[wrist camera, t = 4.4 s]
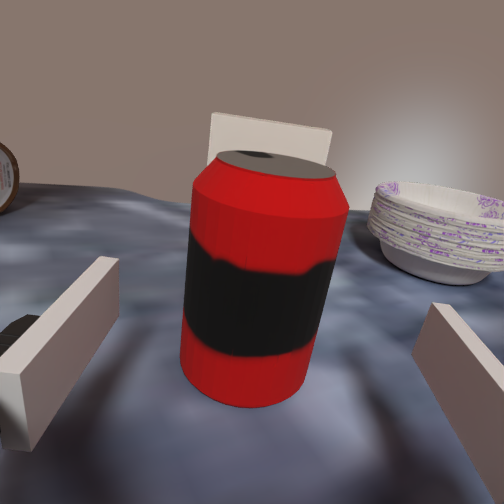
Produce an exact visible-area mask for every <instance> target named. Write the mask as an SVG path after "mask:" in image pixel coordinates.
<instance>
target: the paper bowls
mask: <svg viewBox="0 0 504 504" xmlns="http://www.w3.org/2000/svg"><path fill="white" fill-rule="evenodd" d="M367 227H368V230H370V232H371V233H372V234H373V235H374V236H376V237H377V238H379V239H380V245H381V249H382V252H383V254H384V256H385V257H386V258H387V259H388V260H389V261H390V262H391V263H393V264H394V265H395V266H397V267H399V268H400V269H402V270H404V271H406V272H408V273H410V274H413V275H415V276H418V277H421V278H424V279H427V280H430V281H434V282H439V283H444V284H451V285H469V284H474V283H477V282H479V281H481V280H482V279H484V278H485V277H486V276H487V275H488V274H490V273H491V272H499V271H504V201H501V200H497V199H494V198H491V197H487V196H483V195H479V194H476V193H472V192H467V191H463V190H458V189H453V188H448V187H442V186H436V185H430V184H422V183H413V182H384V183H381V184H379V185H378V186H377V187H376V193H374V198H373V202H372V206H371V210H370V213H369V217H368V223H367Z"/></svg>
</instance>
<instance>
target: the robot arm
mask: <svg viewBox="0 0 504 504" xmlns="http://www.w3.org/2000/svg"><path fill="white" fill-rule="evenodd" d="M118 316H119V259H116V258H109V257H102V256H100V257H99V258H98V259H97V260H96V261H95V262H94V263H93V264H92V265H91V266H90V267H89V268H88V269H87V270H86V271H85V272H84V273H83V274H82V275H81V276H80V277H79V278H78V279H77V280H76V281H75V282H74V283H73V284H72V285H71V286H70V287H69V288H68V289H67V290H66V291H65V292H64V293H63V294H62V295H61V296H60V297H59V298H58V299H57V300H56V301H55V302H54V303H53V304H52V305H51V306H50V307H49V308H48V309H47V310H46V311H45V312H44V313H43V314H42V315H41V316H36V315H28V314H27V315H25V316H24V317H22V318H20V319H18V320H16V321H14V322H12V323H11V324H9V325H8V326H7V327H6V328H5V329H4V330H3V331H2V332H1V333H0V437H1V442H2V448H3V449H7V450H16V451H24V452H32V450H33V449H34V447H35V446H36V444H37V443H38V441H39V440H40V438H41V436H42V435H43V433H44V432H45V430H46V429H47V427H48V426H49V424H50V422H51V421H52V419H53V418H54V416H55V415H56V413H57V411H58V410H59V408H60V407H61V405H62V404H63V402H64V401H65V399H66V397H67V396H68V394H69V393H70V391H71V390H72V388H73V387H74V385H75V383H76V382H77V380H78V379H79V377H80V376H81V374H82V372H83V371H84V369H85V368H86V366H87V365H88V363H89V362H90V360H91V358H92V357H93V355H94V354H95V352H96V351H97V349H98V348H99V346H100V344H101V343H102V341H103V340H104V338H105V337H106V335H107V334H108V332H109V330H110V329H111V327H112V326H113V324H114V323H115V321H116V319H117V318H118ZM411 355H412V357H413V358H414V360H415V362H416V364H417V365H418V367H419V369H420V371H421V373H422V374H423V376H424V378H425V380H426V381H427V383H428V385H429V387H430V388H431V390H432V392H433V394H434V396H435V397H436V399H437V401H438V403H439V404H440V406H441V408H442V410H443V411H444V413H445V415H446V417H447V419H448V420H449V422H450V424H451V426H452V427H453V429H454V431H455V433H456V434H457V436H458V438H459V440H460V442H461V443H462V445H463V447H464V449H465V450H466V452H467V454H468V456H469V457H470V459H471V461H472V463H473V465H474V466H475V468H476V470H477V472H478V473H479V475H480V477H481V479H482V481H483V482H484V484H485V486H486V488H487V489H488V491H489V493H490V495H491V496H492V498H493V500H494V502H495V504H504V366H503V365H502V364H501V363H500V362H499V360H498V359H497V358H496V357H495V356H494V355H493V354H492V352H491V351H490V350H489V349H488V348H487V347H486V346H485V344H484V343H483V342H482V341H481V340H480V339H479V338H478V336H477V335H476V334H475V333H474V332H473V331H472V330H471V328H470V327H469V326H468V325H467V324H466V323H465V322H464V320H463V319H462V318H461V317H460V316H459V315H458V314H457V312H456V311H455V310H454V309H453V308H452V307H451V306H450V305H447V304H440V303H433V302H432V304H431V306H430V309H429V311H428V314H427V316H426V319H425V321H424V324H423V326H422V329H421V331H420V334H419V336H418V339H417V341H416V344H415V346H414V349H413V351H412V354H411Z"/></svg>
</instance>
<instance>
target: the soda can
mask: <svg viewBox="0 0 504 504" xmlns="http://www.w3.org/2000/svg"><path fill="white" fill-rule="evenodd" d="M348 211H349V205H348V202H347V200H346V198H345V196H344V193H343V191H342V189H341V187H340V185H339V183H338V180H337V178H336V173H335V171H334V170H332V169H331V168H329V167H327V166H324V165H321V164H318V163H315V162H312V161H308V160H305V159H300V158H296V157H291V156H286V155H280V154H274V153H267V152H258V151H242V150H232V151H223V152H219V153H217V155H216V157H215V158H214V160H213V161H212V162H211V163H210V164H209V165H208V166H207V167H206V168H205V169H204V170H203V171H202V172H201V174H199V176H198V177H197V178H196V179H195V180H194V182H193V189H192V202H191V215H190V228H189V241H188V254H187V268H186V281H185V294H184V307H183V320H182V334H181V347H180V362H181V367H182V369H183V372H184V374H185V375H186V377H187V378H188V380H189V381H190V382H191V383H192V384H193V385H194V386H195V387H196V388H197V389H198V390H200V391H201V392H202V393H203V394H205V395H207V396H208V397H210V398H212V399H213V400H215V401H218V402H220V403H223V404H225V405H230V406H234V407H239V408H259V407H266V406H269V405H273V404H276V403H279V402H282V401H283V400H285V399H287V398H289V397H291V396H292V395H293V394H294V393H296V392H297V391H298V390H299V388H300V387H301V386H302V384H303V383H304V380H305V376H306V373H307V369H308V365H309V362H310V358H311V354H312V350H313V346H314V342H315V338H316V335H317V331H318V327H319V323H320V319H321V315H322V311H323V307H324V304H325V300H326V296H327V292H328V288H329V284H330V280H331V277H332V273H333V269H334V265H335V261H336V257H337V253H338V249H339V246H340V242H341V238H342V234H343V230H344V226H345V222H346V219H347V215H348Z"/></svg>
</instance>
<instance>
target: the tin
mask: <svg viewBox="0 0 504 504" xmlns="http://www.w3.org/2000/svg"><path fill="white" fill-rule="evenodd" d="M18 187H19V168H18V164H17V160H16V158H15V157H14V155H13V154H12V152H11V151H10V150H9V149H8V148H7V147H6V146H5V145H3V144H2V143H0V213H1V212H3V211H4V210H5V209H6V208H7V207H8V206H9V205H10V204H11V203H12V201H13V200H14V198H15V196H16V194H17V192H18Z"/></svg>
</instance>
